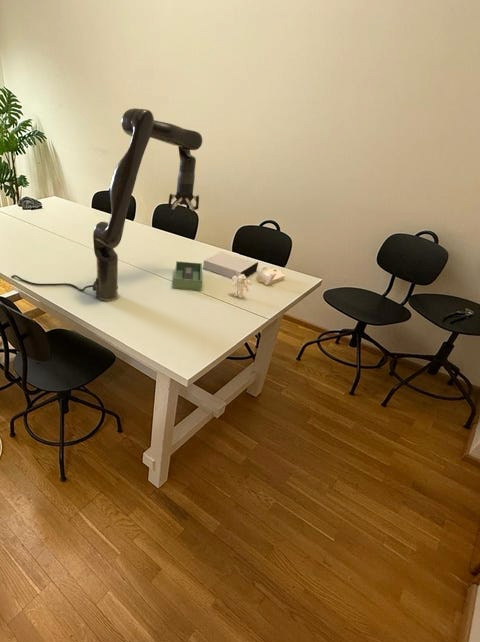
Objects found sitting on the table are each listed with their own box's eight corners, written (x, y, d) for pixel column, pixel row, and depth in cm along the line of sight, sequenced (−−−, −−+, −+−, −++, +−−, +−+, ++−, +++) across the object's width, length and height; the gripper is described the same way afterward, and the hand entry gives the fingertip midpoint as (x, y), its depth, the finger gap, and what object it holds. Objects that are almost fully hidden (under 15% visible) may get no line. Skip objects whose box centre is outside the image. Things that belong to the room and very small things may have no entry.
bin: (173, 288, 178) (174, 278, 175) (175, 270, 195) (176, 261, 192) (200, 290, 176) (202, 280, 173) (200, 272, 193) (201, 263, 190)
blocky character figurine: (227, 294, 173) (232, 271, 166) (231, 291, 176) (235, 268, 169) (245, 300, 169) (251, 276, 162) (249, 297, 171) (254, 273, 164)
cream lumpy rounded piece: (265, 286, 183) (272, 274, 178) (255, 278, 187) (262, 266, 181) (282, 281, 189) (289, 269, 184) (272, 272, 193) (279, 261, 187)
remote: (182, 285, 179) (183, 279, 177) (183, 272, 192) (184, 265, 190) (192, 286, 178) (192, 279, 176) (192, 272, 191) (193, 266, 189)
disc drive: (240, 281, 185) (242, 272, 182) (202, 268, 197) (203, 259, 195) (256, 271, 196) (258, 262, 193) (219, 259, 208) (221, 251, 205)
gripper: (201, 180, 170) (196, 216, 179) (170, 178, 172) (167, 214, 181) (201, 184, 164) (196, 220, 173) (169, 182, 166) (166, 218, 175)
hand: (182, 217), depth 177 cm, fingers open, 8 cm apart
